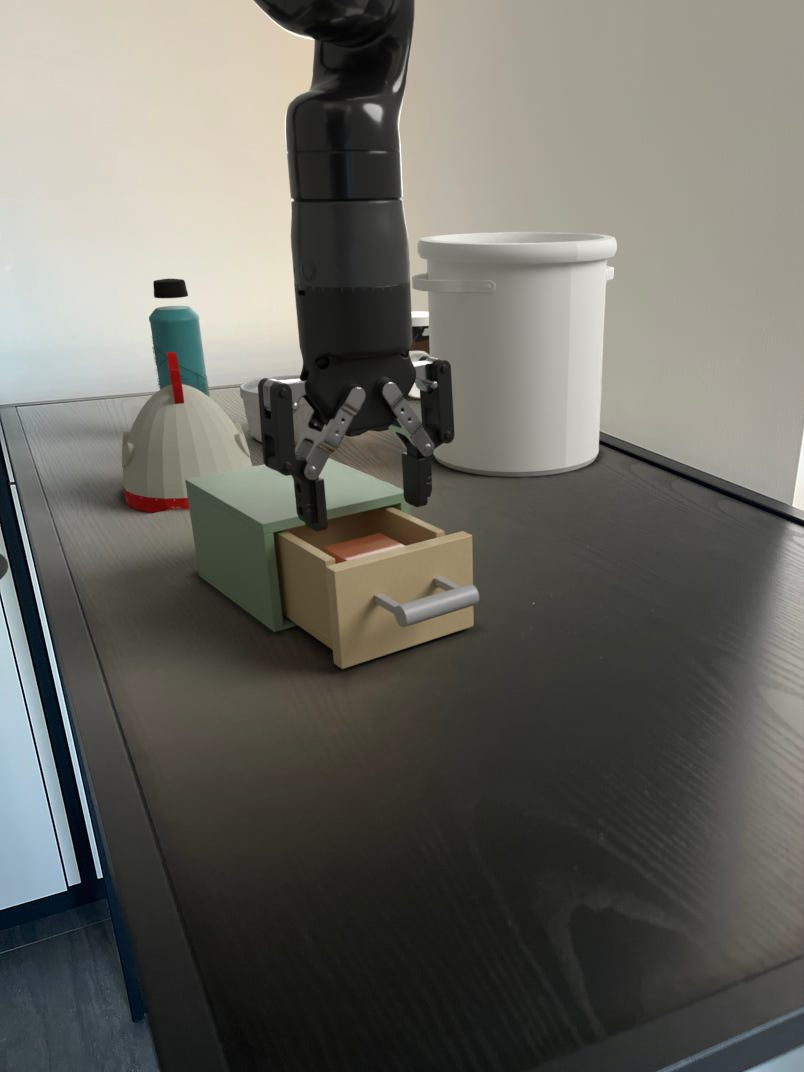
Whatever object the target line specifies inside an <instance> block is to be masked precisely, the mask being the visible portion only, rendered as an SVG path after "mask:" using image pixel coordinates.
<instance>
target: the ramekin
mask: <svg viewBox="0 0 804 1072" xmlns="http://www.w3.org/2000/svg"><path fill="white" fill-rule="evenodd" d="M299 377H300V374H288V375H287V374H285V375H272V376H264V377H260V378H255V379H251V380H247V381H244V382H242V383H241V384H240V386H239V396H240V398H241V399H242V402H243V409H244V413H245V416H246V421H247V425H248V426H247V427H248V429H249V431H250V433H251V435H252V437H254V439H255V440H256V441H258V442H260V443H262V438H261V424H260V410H259V396H258V384H259V382H260V380H262V379H263V378H270V379H275V380H278V381H280V380H291V379H299ZM298 406H299V408H298V410H297V411H296V412H295V413H294V414H293V422H294V440H295V446H296V445H297V443H298V441H299V439H300V435H299V433H300V429H301V427H302V425H303V424H304V422H305V420H306V418H307V416H308V414H309V412H310V410H311V406H310V405H309V404H308V403H307V401H306V400H305V399H304V398H303V397H301V399H300V400H299V404H298ZM326 427H327V426H326V425H324V427H323V429H322V431H324V430H325V428H326Z"/></svg>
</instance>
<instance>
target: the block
mask: <svg viewBox="0 0 804 1072" xmlns="http://www.w3.org/2000/svg"><path fill="white" fill-rule="evenodd" d="M403 546H405V545H403V544H401V543H399V542H397V541H395V540H393V539H391V538H389V537H387V536H385V535H383V534H381V533H378V534H374V535H370V536H366V537H362V538H358V539H354V540H350V541H346V542H342V543H338V544H334V545H330V546H326V547H323V552H324V553H326V554H328V555H329V556H331V557H333V558H335V564H338V563H342V562H345V561H349V560H353V559H357V558H361V557H365V556H369V555H372V554H376V553H380V552H384V551H388V550H392V549H395V548H399V547H403Z"/></svg>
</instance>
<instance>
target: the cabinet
mask: <svg viewBox="0 0 804 1072" xmlns="http://www.w3.org/2000/svg"><path fill="white" fill-rule="evenodd" d="M252 466H253V467H248V468H243V469H237V470H232V471H227V472H221V473H216V474H211V475H205V476H200V477H195V478H189V479H185V483H186V488H187V496H188V503H189V509H188V510H189V516H190V523H191V529H192V536H193V542H194V549H195V556H196V562H197V564H196V565H197V570H198V576H199V577H200V578H201V579H203V580H204V581H206V582H207V583H208V584H209V585H211V586H212V587H213V588H215V589H217V590H218V591H219V592H220V593H222V594H223V595H224V596H226V597H227V598H228V599H230V600H231V601H232V602H234V603H235V604H236V605H237V606H239V607H240V608H242V609H243V610H244V611H245V612H247V613H248V614H249V615H251V616H252V617H254V618H255V619H256V620H257V621H259V622H260V623H262V624H263V625H265V626H266V627H267V628H269V630H271V631H272V632H274V633H276V632H280V631H283V630H287V629H291V628H293V627H297V626H298V625H297V624H296V623H294V622H293V621H291V620H290V619H289V618H287V617H286V616H284V615H283V614H282V608H281V599H280V590H279V581H278V572H277V563H276V553H275V544H274V535H273V532H277V531H281V530H286V529H290V528H294V527H299V526H303V525H306V524H305V522H303V521H302V520H300V519H299V517H298V515H297V510H296V499H295V489H294V480H293V477H292V475H289V476H285V475H283V474H281V473H279V472H278V471H275V470H273V469H270V468H268V467H266V466H265V464H264V463H263V464H260V465H252ZM319 477H320V478H323V479H324V485H325V497H326V509H327V520H329V519H333V518H338V517H342V516H346V515H351V514H355V513H359V512H364V511H368V510H372V509H377V508H381V507H385V506H391V507H393V508H395V509H398V510H400V511H402V512H404V513H406V514H409V515H410V504H408V503H407V502H406V501H405V499H404V492H403V488H402V487H399V486H396V485H394V484H392V483H389V482H387V481H384V480H381V479H379V478H377V477H374V476H373V475H370V474H368V473H366V472H363V471H361V470H358V469H356V468H354V467H352V466H349V465H346V464H345V463H342V462H339V461H337V460H335V459H333V458H331V457H329V458H328V460H327V462H326V464H325V466H324V468H323V470H322V472H321V473H320V475H319Z"/></svg>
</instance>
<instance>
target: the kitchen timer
mask: <svg viewBox="0 0 804 1072" xmlns="http://www.w3.org/2000/svg"><path fill="white" fill-rule="evenodd" d="M167 359H168V367H169V374H170V380H171V385H169V386H166V387H164V388H162V389H161V390H160V389H158V391H156V392H155V393H154V394H153V395H152V396H150V397H149V399H147V400H146V402H145V403H144V404H143V406H142V407H141V409H140V410H139V412H138V414H137V416H136V417H135V420H134V421H133V423H132V426H131V429H130V431H127V430H125V431H123V432H122V433H123V434H122V443H121V467H122V468H121V469H122V487H123V492H124V498H125V502H126V504H127V505H128V507H130V508H132V509H134V510H137V511H141V512H145V513H151V514H156V513H161V512H165V511H170V510H190V509H189V503H188V496H187V488H186V483H185V479H189V478H195V477H200V476H205V475H211V474H216V473H221V472H227V471H232V470H237V469H243V468H248V467H253V466H254V465H253V462H252V460H251V453H250V449H249V446H248V442H247V440H246V436H245V434H244V430H243V428H242V426H241V424H240V423H239V422H238V421H235V422H233V421H232V420H231V418H230V417H229V415H228V414H227V413H226V412H225V411H224V409H223V408H222V407H221V406H220V405H219V404H218V403H217V402H216V401H215V400H214V399H212V398H211V396H210V397H208V396H207V395H206V394H204V393H203V392H201V391H199V390H197V389H195V388H193V387H191V386H188V385H184V384H182V383H181V378H180V370H179V366H178V359H177V355H176V352H169V353H167Z"/></svg>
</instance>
